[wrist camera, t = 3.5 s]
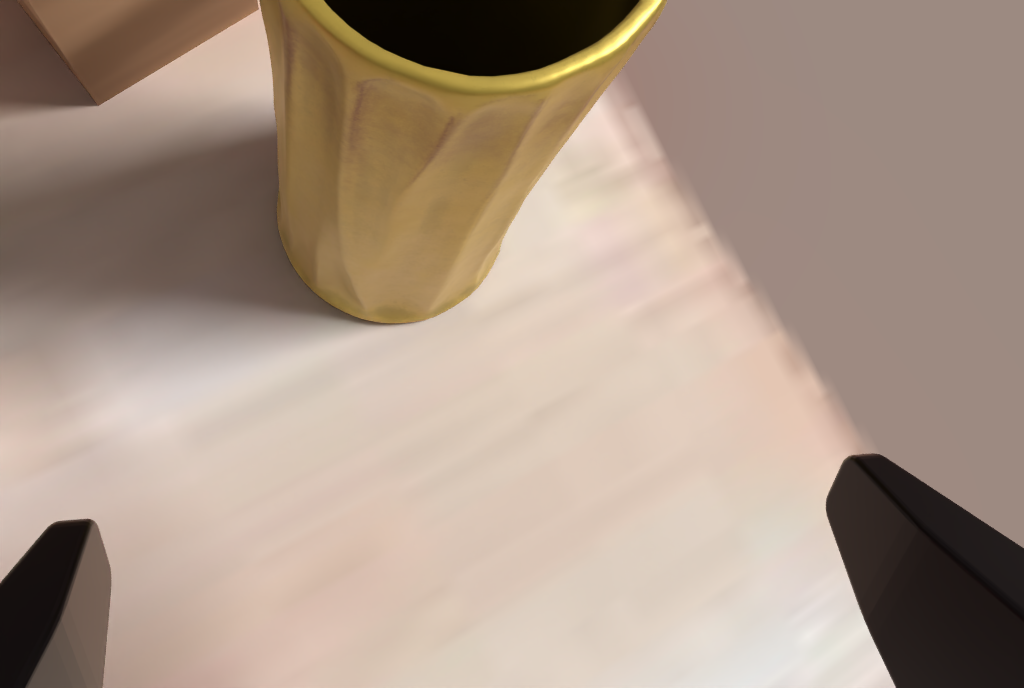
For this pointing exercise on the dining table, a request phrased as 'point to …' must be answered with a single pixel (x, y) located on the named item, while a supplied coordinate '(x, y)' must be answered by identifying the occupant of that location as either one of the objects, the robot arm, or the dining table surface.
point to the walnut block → (128, 35)
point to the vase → (426, 133)
